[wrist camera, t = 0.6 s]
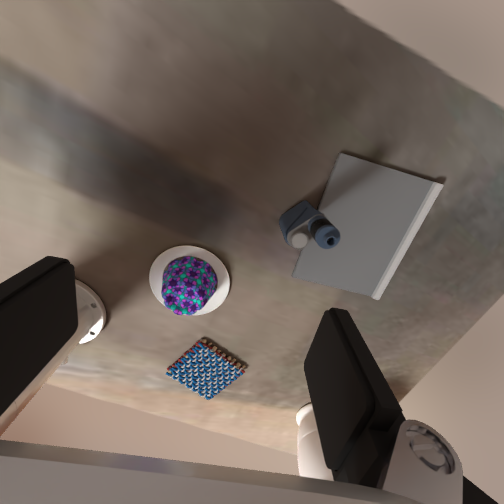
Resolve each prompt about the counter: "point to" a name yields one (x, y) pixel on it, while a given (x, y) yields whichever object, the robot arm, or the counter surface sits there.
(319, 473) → the jar
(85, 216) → the counter surface
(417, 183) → the grey flat slab
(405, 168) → the counter surface
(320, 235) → the vaping device
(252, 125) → the counter surface
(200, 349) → the woven mat
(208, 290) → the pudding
